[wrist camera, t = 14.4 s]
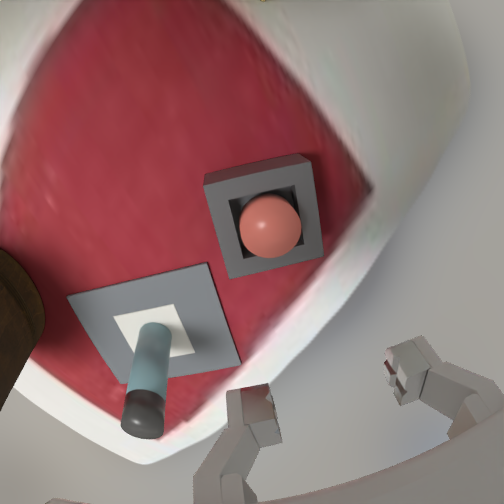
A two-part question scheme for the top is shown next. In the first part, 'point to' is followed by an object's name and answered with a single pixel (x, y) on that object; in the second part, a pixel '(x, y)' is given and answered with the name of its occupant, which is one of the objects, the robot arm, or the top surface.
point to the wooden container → (17, 321)
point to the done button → (269, 225)
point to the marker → (148, 383)
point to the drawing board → (159, 320)
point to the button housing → (255, 183)
